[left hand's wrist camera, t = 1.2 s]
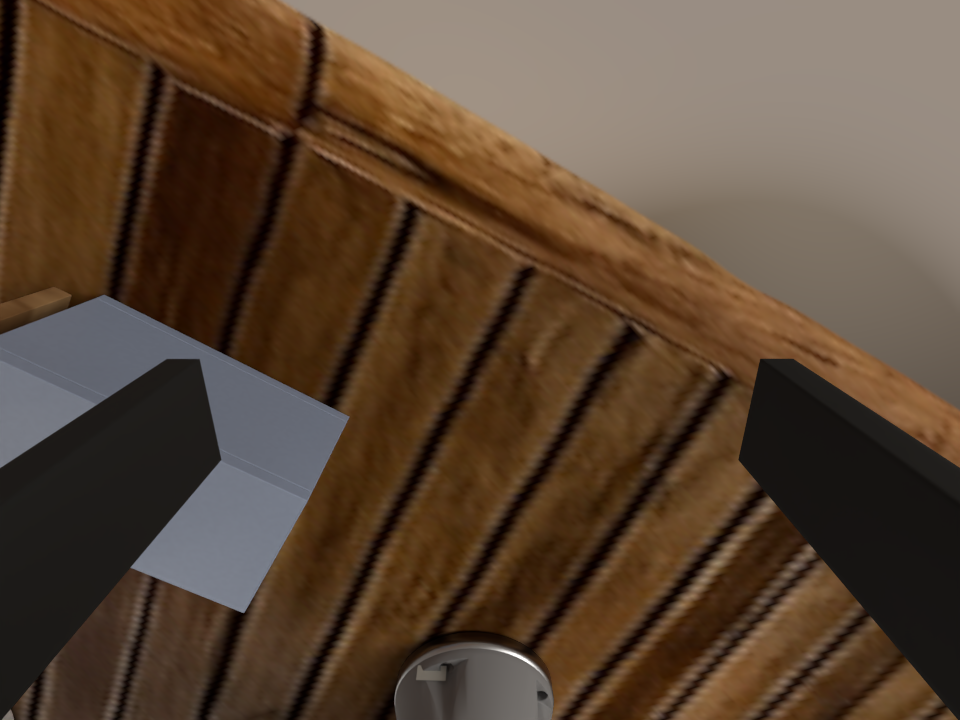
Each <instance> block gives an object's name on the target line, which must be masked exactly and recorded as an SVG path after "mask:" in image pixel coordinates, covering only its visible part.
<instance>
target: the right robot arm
mask: <svg viewBox="0 0 960 720" xmlns="http://www.w3.org/2000/svg"><path fill="white" fill-rule="evenodd" d="M2 720H14V717H13V713H12V711H11V709H10V711H9V712H8V713H7V714H6V715H5V717H4V718H3V719H2Z"/></svg>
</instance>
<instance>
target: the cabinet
mask: <svg viewBox="0 0 960 720" xmlns="http://www.w3.org/2000/svg"><path fill="white" fill-rule="evenodd" d="M166 359H200V363H201V367H202V372H203V377H204V381H205V386H206V390H207V395H208V400H209V404H210V409H211V414H212V418H213V423H214V427H215V432H216V437H217V441H218V446H219V450H220V455H221V461H220V462H219V463H218V465H217V466H216V467H215V468H214V469H213V470H212V472H211V473H210V474H209V475H208V476H207V478H206V479H205V480H204V481H203V482H202V484H201V485H200V486H199V487H198V488H197V489H196V491H195V492H194V493H193V494H192V495H191V497H190V498H189V499H188V500H187V501H186V502H185V504H184V505H183V506H182V507H181V508H180V510H179V511H178V512H177V513H176V514H175V515H174V517H173V518H172V519H171V520H170V521H169V523H168V524H167V525H166V526H165V527H164V528H163V530H162V531H161V532H160V533H159V534H158V536H157V537H156V538H155V539H154V540H153V541H152V543H151V544H150V545H149V546H148V547H147V549H146V550H145V551H144V552H143V553H142V554H141V556H140V557H139V558H138V559H137V560H136V562H135V563H134V564H133V565H132V566H131V567H130V568H133V569H135V570H138V571H140V572H143V573H145V574H148V575H150V576H153V577H155V578H158V579H160V580H163V581H165V582H168V583H170V584H173V585H175V586H178V587H180V588H183V589H185V590H188V591H190V592H193V593H195V594H198V595H200V596H203V597H205V598H208V599H210V600H213V601H215V602H217V603H220V604H222V605H225V606H227V607H230V608H232V609H235V610H237V611H240V612H242V613H244V612H245V611H246V609H247V607H248V605H249V604H250V602H251V600H252V598H253V597H254V595H255V593H256V591H257V589H258V588H259V586H260V584H261V582H262V581H263V579H264V577H265V575H266V574H267V572H268V570H269V568H270V567H271V565H272V563H273V561H274V559H275V558H276V556H277V554H278V552H279V551H280V549H281V547H282V545H283V544H284V542H285V540H286V538H287V536H288V535H289V533H290V531H291V529H292V528H293V526H294V524H295V522H296V521H297V519H298V517H299V515H300V514H301V512H302V510H303V508H304V506H305V505H306V503H307V501H308V499H309V497H310V495H311V493H312V491H313V489H314V487H315V485H316V483H317V481H318V479H319V477H320V475H321V473H322V471H323V469H324V467H325V465H326V463H327V461H328V459H329V457H330V455H331V453H332V451H333V449H334V447H335V445H336V443H337V441H338V439H339V437H340V435H341V433H342V431H343V429H344V427H345V425H346V423H347V421H348V419H349V416H347V415H345V414H343V413H341V412H339V411H337V410H335V409H333V408H331V407H329V406H327V405H325V404H323V403H321V402H319V401H317V400H315V399H313V398H311V397H309V396H307V395H305V394H303V393H301V392H299V391H297V390H295V389H293V388H291V387H289V386H287V385H285V384H283V383H281V382H279V381H277V380H275V379H273V378H271V377H269V376H267V375H265V374H263V373H261V372H259V371H257V370H255V369H253V368H251V367H248V366H246V365H244V364H242V363H240V362H238V361H236V360H234V359H232V358H230V357H228V356H226V355H224V354H222V353H220V352H218V351H216V350H214V349H212V348H210V347H208V346H206V345H204V344H202V343H200V342H198V341H196V340H194V339H192V338H190V337H188V336H186V335H184V334H182V333H180V332H178V331H176V330H174V329H172V328H170V327H168V326H166V325H164V324H162V323H160V322H158V321H156V320H154V319H152V318H150V317H148V316H146V315H144V314H142V313H140V312H138V311H136V310H134V309H132V308H130V307H128V306H126V305H124V304H122V303H120V302H118V301H116V300H114V299H112V298H110V297H108V296H106V295H102V296H100V297H97V298H95V299H92V300H89V301H87V302H84V303H82V304H79V305H76V306H74V307H71V308H69V309H66V310H63V311H61V312H58V313H55V314H53V315H50V316H48V317H45V318H42V319H40V320H37V321H35V322H32V323H29V324H27V325H24V326H22V327H19V328H16V329H14V330H11V331H8V332H6V333H3V334H1V335H0V468H1V467H2V466H4V465H5V464H7V463H9V462H10V461H12V460H13V459H15V458H16V457H18V456H19V455H21V454H22V453H24V452H25V451H27V450H28V449H30V448H31V447H33V446H35V445H36V444H38V443H39V442H41V441H42V440H44V439H45V438H47V437H48V436H50V435H51V434H53V433H54V432H56V431H57V430H59V429H60V428H62V427H64V426H65V425H67V424H68V423H70V422H71V421H73V420H74V419H76V418H77V417H79V416H80V415H82V414H83V413H85V412H86V411H88V410H90V409H91V408H93V407H94V406H96V405H97V404H99V403H100V402H102V401H103V400H105V399H106V398H108V397H109V396H111V395H112V394H114V393H116V392H117V391H119V390H120V389H122V388H123V387H125V386H126V385H128V384H129V383H131V382H132V381H134V380H135V379H137V378H138V377H140V376H142V375H143V374H145V373H146V372H148V371H149V370H151V369H152V368H154V367H155V366H157V365H158V364H160V363H161V362H163V361H164V360H166Z"/></svg>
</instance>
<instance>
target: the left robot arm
mask: <svg viewBox="0 0 960 720" xmlns="http://www.w3.org/2000/svg"><path fill="white" fill-rule="evenodd" d="M220 461H221V455H220V450H219V446H218V441H217V437H216V432H215V427H214V423H213V418H212V414H211V409H210V404H209V400H208V395H207V390H206V386H205V381H204V377H203V372H202V367H201V363H200V359H166V360H164V361H163V362H161V363H160V364H158V365H157V366H155V367H154V368H152V369H151V370H149V371H148V372H146V373H145V374H143V375H142V376H140V377H138V378H137V379H135V380H134V381H132V382H131V383H129V384H128V385H126V386H125V387H123V388H122V389H120V390H119V391H117V392H116V393H114V394H112V395H111V396H109V397H108V398H106V399H105V400H103V401H102V402H100V403H99V404H97V405H96V406H94V407H93V408H91V409H90V410H88V411H86V412H85V413H83V414H82V415H80V416H79V417H77V418H76V419H74V420H73V421H71V422H70V423H68V424H67V425H65V426H64V427H62V428H60V429H59V430H57V431H56V432H54V433H53V434H51V435H50V436H48V437H47V438H45V439H44V440H42V441H41V442H39V443H38V444H36V445H35V446H33V447H31V448H30V449H28V450H27V451H25V452H24V453H22V454H21V455H19V456H18V457H16V458H15V459H13V460H12V461H10V462H9V463H7V464H5V465H4V466H2V467H1V468H0V720H2V719H3V718H4V717H5V715H6V714H7V713H8V712H9V711H10V709H11V708H12V707H13V706H14V705H15V703H16V702H17V701H18V700H19V699H20V698H21V696H22V695H23V694H24V693H25V692H26V690H27V689H28V688H29V687H30V686H31V685H32V683H33V682H34V681H35V680H36V679H37V677H38V676H39V675H40V674H41V673H42V672H43V670H44V669H45V668H46V667H47V666H48V664H49V663H50V662H51V661H52V660H53V659H54V657H55V656H56V655H57V654H58V653H59V651H60V650H61V649H62V648H63V647H64V646H65V644H66V643H67V642H68V641H69V640H70V638H71V637H72V636H73V635H74V634H75V633H76V631H77V630H78V629H79V628H80V627H81V625H82V624H83V623H84V622H85V621H86V620H87V618H88V617H89V616H90V615H91V614H92V612H93V611H94V610H95V609H96V608H97V607H98V605H99V604H100V603H101V602H102V601H103V599H104V598H105V597H106V596H107V595H108V593H109V592H110V591H111V590H112V589H113V588H114V586H115V585H116V584H117V583H118V582H119V580H120V579H121V578H122V577H123V576H124V575H125V573H126V572H127V571H128V570H129V569H130V567H131V566H132V565H133V564H134V563H135V562H136V560H137V559H138V558H139V557H140V556H141V554H142V553H143V552H144V551H145V550H146V549H147V547H148V546H149V545H150V544H151V543H152V541H153V540H154V539H155V538H156V537H157V536H158V534H159V533H160V532H161V531H162V530H163V528H164V527H165V526H166V525H167V524H168V523H169V521H170V520H171V519H172V518H173V517H174V515H175V514H176V513H177V512H178V511H179V510H180V508H181V507H182V506H183V505H184V504H185V502H186V501H187V500H188V499H189V498H190V497H191V495H192V494H193V493H194V492H195V491H196V489H197V488H198V487H199V486H200V485H201V484H202V482H203V481H204V480H205V479H206V478H207V476H208V475H209V474H210V473H211V472H212V470H213V469H214V468H215V467H216V466H217V465H218V463H219V462H220ZM739 461H740V462H741V463H742V465H743V466H744V467H745V468H746V469H747V470H748V472H749V473H750V474H751V475H752V476H753V478H754V479H755V480H756V481H757V482H758V484H759V485H760V486H761V487H762V488H763V489H764V491H765V492H766V493H767V494H768V495H769V497H770V498H771V499H772V500H773V501H774V502H775V504H776V505H777V506H778V507H779V508H780V510H781V511H782V512H783V513H784V514H785V515H786V517H787V518H788V519H789V520H790V521H791V523H792V524H793V525H794V526H795V527H796V528H797V530H798V531H799V532H800V533H801V534H802V536H803V537H804V538H805V539H806V540H807V541H808V543H809V544H810V545H811V546H812V547H813V549H814V550H815V551H816V552H817V553H818V554H819V556H820V557H821V558H822V559H823V560H824V562H825V563H826V564H827V565H828V566H829V567H830V569H831V570H832V571H833V572H834V573H835V575H836V576H837V577H838V578H839V579H840V580H841V582H842V583H843V584H844V585H845V586H846V588H847V589H848V590H849V591H850V592H851V594H852V595H853V596H854V597H855V598H856V599H857V601H858V602H859V603H860V604H861V605H862V607H863V608H864V609H865V610H866V611H867V612H868V614H869V615H870V616H871V617H872V618H873V620H874V621H875V622H876V623H877V624H878V625H879V627H880V628H881V629H882V630H883V631H884V633H885V634H886V635H887V636H888V637H889V638H890V640H891V641H892V642H893V643H894V644H895V646H896V647H897V648H898V649H899V650H900V651H901V653H902V654H903V655H904V656H905V657H906V659H907V660H908V661H909V662H910V663H911V664H912V666H913V667H914V668H915V669H916V670H917V672H918V673H919V674H920V675H921V676H922V677H923V679H924V680H925V681H926V682H927V683H928V685H929V686H930V687H931V688H932V689H933V690H934V692H935V693H936V694H937V695H938V696H939V698H940V699H941V700H942V701H943V702H944V703H945V705H946V706H947V707H948V708H949V709H950V711H951V712H952V713H953V714H954V715H955V717H956V718H957V719H958V720H960V468H959V467H958V466H956V465H955V464H953V463H951V462H950V461H948V460H947V459H945V458H944V457H942V456H941V455H939V454H938V453H936V452H935V451H933V450H932V449H930V448H929V447H927V446H925V445H924V444H922V443H921V442H919V441H918V440H916V439H915V438H913V437H912V436H910V435H909V434H907V433H906V432H904V431H903V430H901V429H900V428H898V427H896V426H895V425H893V424H892V423H890V422H889V421H887V420H886V419H884V418H883V417H881V416H880V415H878V414H877V413H875V412H874V411H872V410H870V409H869V408H867V407H866V406H864V405H863V404H861V403H860V402H858V401H857V400H855V399H854V398H852V397H851V396H849V395H848V394H846V393H844V392H843V391H841V390H840V389H838V388H837V387H835V386H834V385H832V384H831V383H829V382H828V381H826V380H825V379H823V378H822V377H820V376H818V375H817V374H815V373H814V372H812V371H811V370H809V369H808V368H806V367H805V366H803V365H802V364H800V363H799V362H797V361H796V360H794V359H760V363H759V367H758V372H757V377H756V381H755V386H754V390H753V395H752V400H751V404H750V409H749V414H748V418H747V423H746V427H745V432H744V437H743V441H742V446H741V450H740V455H739ZM553 706H554V699H553V691H552V683H551V677H550V673H549V671H548V669H547V667H546V665H545V663H544V662H543V661H542V659H541V658H540V657H539V656H538V655H537V654H536V653H535V652H534V651H532V650H531V649H530V648H528V647H527V646H525V645H523V644H522V643H520V642H518V641H515V640H513V639H510V638H508V637H504V636H501V635H496V634H491V633H483V632H465V633H456V634H451V635H447V636H443V637H440V638H437V639H435V640H432V641H430V642H428V643H426V644H424V645H423V646H421V647H420V648H418V649H417V650H416V651H414V652H413V653H412V654H411V655H410V656H409V657H408V658H407V659H406V661H405V662H404V664H403V665H402V667H401V669H400V671H399V675H398V679H397V686H396V692H395V712H396V718H397V720H551V718H552V713H553Z"/></svg>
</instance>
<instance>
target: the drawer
mask: <svg viewBox="0 0 960 720" xmlns="http://www.w3.org/2000/svg"><path fill="white" fill-rule="evenodd" d="M71 296H72V295H70V294H68V293H66V292H64V291H62V290H60V289H58V288H56V287H52V288H48V289H45V290H42V291H39V292H36V293H33V294H30V295H26V296H23V297H20V298H17V299H14V300H11V301H8V302H5V303H1V304H0V335H1V334H3V333H6V332H8V331H11V330H14V329H16V328H19V327H22V326H24V325H27V324H29V323H32V322H35V321H37V320H40V319H42V318H45V317H48V316H50V315H53V314H55V313H58V312H61V311H63V310H66V309H68V306H69V303H70V299H71Z"/></svg>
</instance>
